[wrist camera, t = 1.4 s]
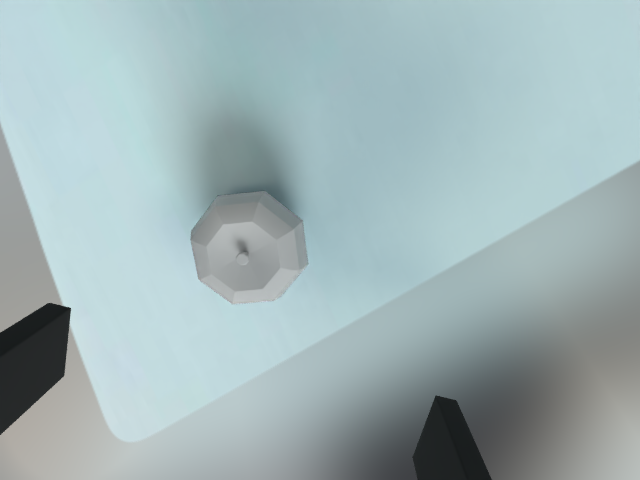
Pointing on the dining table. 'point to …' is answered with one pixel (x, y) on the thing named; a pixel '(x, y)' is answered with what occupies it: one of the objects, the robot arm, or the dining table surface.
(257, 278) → the apple
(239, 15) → the dining table surface
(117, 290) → the dining table surface
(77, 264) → the dining table surface
